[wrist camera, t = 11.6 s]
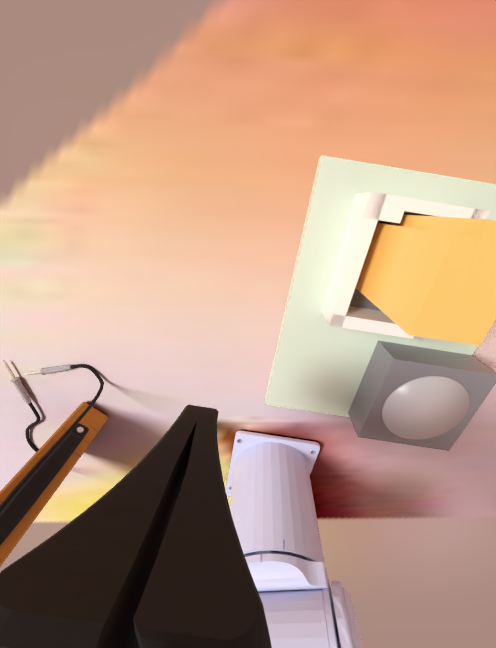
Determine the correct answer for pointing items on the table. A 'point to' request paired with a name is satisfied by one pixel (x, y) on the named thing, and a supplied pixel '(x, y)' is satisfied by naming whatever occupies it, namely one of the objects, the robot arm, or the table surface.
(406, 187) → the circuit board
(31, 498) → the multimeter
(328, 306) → the frame
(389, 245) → the plug
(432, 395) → the grey dome button
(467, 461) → the table surface
